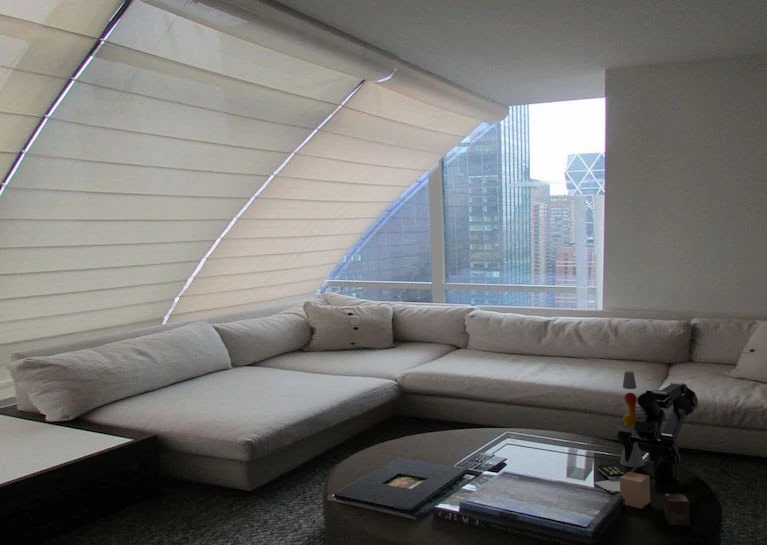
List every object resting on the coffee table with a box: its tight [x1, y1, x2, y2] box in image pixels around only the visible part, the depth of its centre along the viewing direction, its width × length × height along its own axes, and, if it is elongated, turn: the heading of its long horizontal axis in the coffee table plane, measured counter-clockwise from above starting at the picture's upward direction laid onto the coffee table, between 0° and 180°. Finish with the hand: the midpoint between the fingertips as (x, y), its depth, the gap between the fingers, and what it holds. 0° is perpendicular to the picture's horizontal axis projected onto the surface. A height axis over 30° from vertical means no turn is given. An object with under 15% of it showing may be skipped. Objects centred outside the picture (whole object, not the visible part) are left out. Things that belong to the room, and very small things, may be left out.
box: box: [663, 493, 691, 526], centre depth 197 cm, size 6×6×7 cm
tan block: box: [619, 471, 651, 509], centre depth 212 cm, size 7×7×8 cm
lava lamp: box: [618, 370, 645, 468], centre depth 247 cm, size 9×9×35 cm
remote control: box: [597, 463, 626, 480], centre depth 237 cm, size 6×13×2 cm, turn 2°
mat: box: [593, 479, 620, 492], centre depth 226 cm, size 10×10×1 cm
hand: (640, 464), depth 215 cm, fingers open, 9 cm apart
